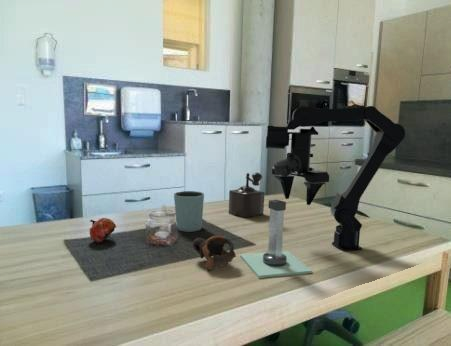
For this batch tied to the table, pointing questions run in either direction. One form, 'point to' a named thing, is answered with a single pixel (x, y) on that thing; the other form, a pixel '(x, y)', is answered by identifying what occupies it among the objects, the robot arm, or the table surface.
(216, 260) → the pottery mug
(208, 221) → the table surface
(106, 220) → the red ribbed fruit
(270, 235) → the square pillar on disc
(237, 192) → the pepper mill
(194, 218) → the green cup
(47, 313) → the table surface
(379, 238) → the table surface
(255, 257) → the rest mat
